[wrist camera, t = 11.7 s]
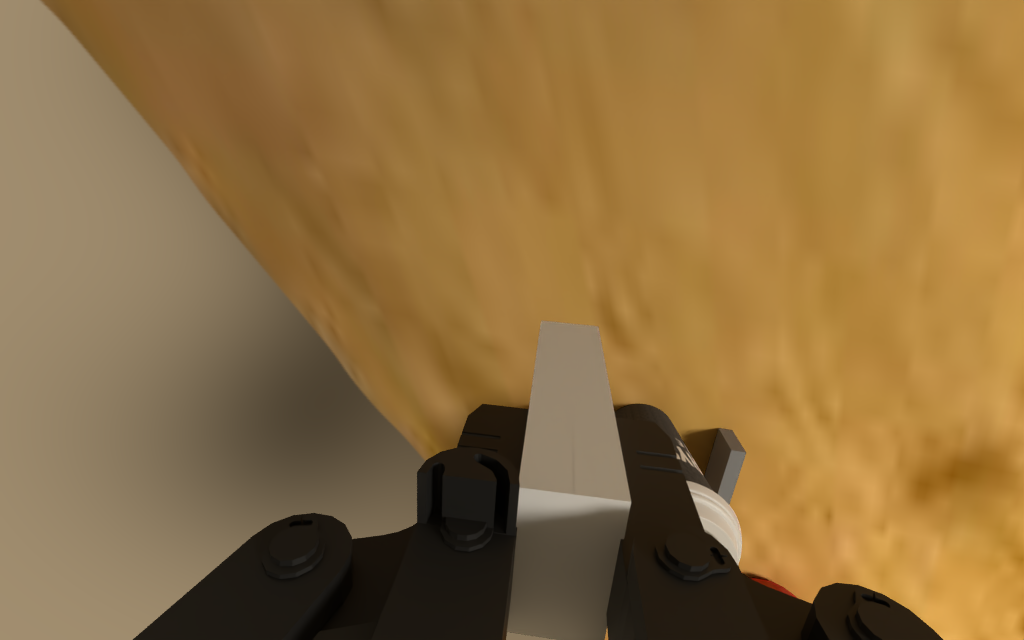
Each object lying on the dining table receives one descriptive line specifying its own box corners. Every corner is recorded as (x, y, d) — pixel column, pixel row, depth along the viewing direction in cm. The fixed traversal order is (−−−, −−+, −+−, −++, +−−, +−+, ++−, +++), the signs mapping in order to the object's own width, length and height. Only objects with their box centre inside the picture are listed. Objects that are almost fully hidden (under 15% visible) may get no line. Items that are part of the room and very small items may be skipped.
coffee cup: (660, 493, 45) (702, 642, 31) (569, 454, 45) (569, 586, 31) (711, 414, 42) (785, 539, 28) (614, 372, 42) (638, 476, 28)
